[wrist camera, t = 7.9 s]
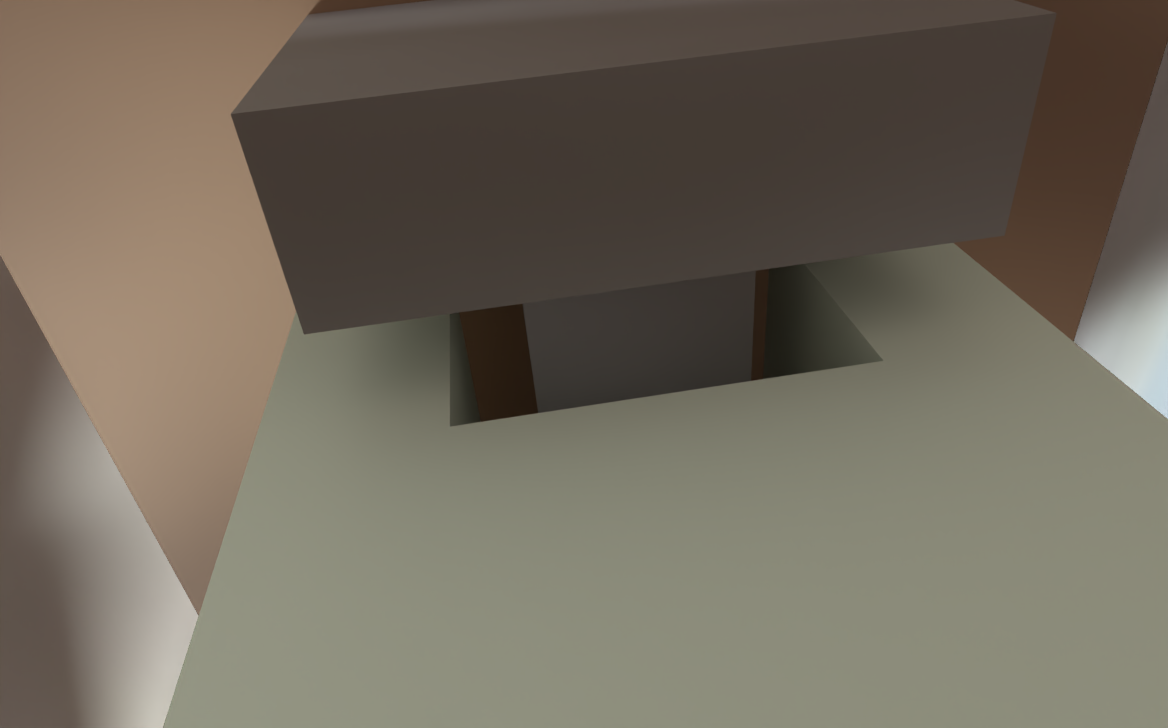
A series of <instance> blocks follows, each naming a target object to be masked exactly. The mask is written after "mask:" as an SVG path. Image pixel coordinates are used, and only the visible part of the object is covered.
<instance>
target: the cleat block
mask: <svg viewBox="0 0 1168 728" xmlns="http://www.w3.org/2000/svg"><path fill="white" fill-rule="evenodd" d="M163 728H1168V419H1167V418H1166V417H1164V416H1163V415H1162V414H1161V413H1160V412H1158V411H1157V410H1156V409H1155V408H1154V407H1152V406H1151V405H1150V404H1149V403H1147V402H1146V401H1145V400H1144V399H1143V398H1141V397H1140V396H1139V395H1138V394H1136V393H1135V392H1134V391H1133V390H1132V389H1130V388H1129V387H1128V386H1127V385H1126V384H1124V383H1123V382H1122V381H1121V380H1119V379H1118V378H1117V377H1116V376H1115V375H1113V374H1112V373H1111V372H1110V371H1109V370H1107V369H1106V368H1105V367H1104V366H1102V365H1101V364H1100V363H1099V362H1098V361H1096V360H1095V359H1094V358H1093V357H1092V356H1090V355H1089V354H1088V353H1087V352H1085V351H1084V350H1083V349H1082V348H1081V347H1079V346H1078V345H1077V344H1076V343H1075V342H1073V341H1072V340H1071V339H1070V338H1068V337H1067V336H1066V335H1065V334H1064V333H1062V332H1061V331H1060V330H1059V329H1057V328H1056V327H1055V326H1054V325H1053V324H1051V323H1050V322H1049V321H1048V320H1047V319H1045V318H1044V317H1043V316H1042V315H1040V314H1039V313H1038V312H1037V311H1036V310H1034V309H1033V308H1032V307H1031V306H1030V305H1028V304H1027V303H1026V302H1025V301H1023V300H1022V299H1021V298H1020V297H1019V296H1017V295H1016V294H1015V293H1014V292H1013V291H1011V290H1010V289H1009V288H1008V287H1006V286H1005V285H1004V284H1003V283H1002V282H1000V281H999V280H998V279H997V278H996V277H994V276H993V275H992V274H991V273H989V272H988V271H987V270H986V269H985V268H983V267H982V266H981V265H980V264H978V263H977V262H976V261H975V260H974V259H972V258H971V257H970V256H969V255H968V254H966V253H965V252H964V251H963V250H961V249H960V248H959V247H958V246H957V245H955V244H954V243H948V244H941V245H934V246H927V247H920V248H913V249H906V250H899V251H892V252H885V253H878V254H871V255H863V256H856V257H849V258H842V259H835V260H828V261H821V262H814V263H807V264H800V265H793V266H786V267H778V268H771V269H769V276H768V295H767V313H766V332H765V351H764V370H763V379H760V380H754V381H747V382H741V383H734V384H727V385H721V386H714V387H708V388H701V389H694V390H688V391H681V392H675V393H668V394H661V395H655V396H648V397H642V398H635V399H629V400H622V401H615V402H609V403H602V404H596V405H589V406H582V407H576V408H569V409H563V410H556V411H549V412H543V413H536V414H530V415H523V416H516V417H510V418H503V419H497V420H490V421H484V422H481V420H480V415H479V410H478V405H477V400H476V395H475V390H474V385H473V380H472V375H471V370H470V365H469V360H468V355H467V350H466V345H465V340H464V335H463V330H462V325H461V320H460V315H459V313H453V314H446V315H439V316H432V317H425V318H417V319H410V320H403V321H396V322H389V323H382V324H375V325H368V326H361V327H354V328H347V329H340V330H332V331H325V332H318V333H311V334H304V333H303V330H302V327H301V324H300V321H299V318H298V315H297V312H296V313H295V316H294V319H293V323H292V326H291V329H290V332H289V335H288V338H287V341H286V344H285V348H284V351H283V354H282V357H281V360H280V363H279V366H278V369H277V373H276V376H275V379H274V382H273V385H272V388H271V391H270V395H269V398H268V401H267V404H266V407H265V410H264V413H263V416H262V420H261V423H260V426H259V429H258V432H257V435H256V438H255V441H254V445H253V448H252V451H251V454H250V457H249V460H248V463H247V466H246V470H245V473H244V476H243V479H242V482H241V485H240V488H239V492H238V495H237V498H236V501H235V504H234V507H233V510H232V513H231V517H230V520H229V523H228V526H227V529H226V532H225V535H224V538H223V542H222V545H221V548H220V551H219V554H218V557H217V560H216V563H215V567H214V570H213V573H212V576H211V579H210V582H209V585H208V589H207V592H206V595H205V598H204V601H203V604H202V607H201V610H200V614H199V617H198V620H197V623H196V626H195V629H194V632H193V635H192V639H191V642H190V645H189V648H188V651H187V654H186V657H185V660H184V664H183V667H182V670H181V673H180V676H179V679H178V682H177V685H176V689H175V692H174V695H173V698H172V701H171V704H170V707H169V711H168V714H167V717H166V720H165V723H164V726H163Z"/></svg>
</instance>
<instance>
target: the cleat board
mask: <svg viewBox="0 0 1168 728" xmlns="http://www.w3.org/2000/svg"><path fill="white" fill-rule="evenodd" d="M1167 41H1168V0H0V256H1V258H2V259H3V261H4V263H5V265H6V267H7V269H8V270H9V272H10V274H11V276H12V278H13V279H14V281H15V283H16V285H17V287H18V288H19V290H20V292H21V294H22V296H23V298H24V299H25V301H26V303H27V305H28V307H29V308H30V310H31V312H32V314H33V316H34V318H35V319H36V321H37V323H38V325H39V327H40V328H41V330H42V332H43V334H44V336H45V338H46V339H47V341H48V343H49V345H50V347H51V348H52V350H53V352H54V354H55V356H56V357H57V359H58V361H59V363H60V365H61V367H62V368H63V370H64V372H65V374H66V376H67V377H68V379H69V381H70V383H71V385H72V387H73V388H74V390H75V392H76V394H77V396H78V397H79V399H80V401H81V403H82V405H83V407H84V408H85V410H86V412H87V414H88V416H89V417H90V419H91V421H92V423H93V425H94V426H95V428H96V430H97V432H98V434H99V436H100V437H101V439H102V441H103V443H104V445H105V446H106V448H107V450H108V452H109V454H110V456H111V457H112V459H113V461H114V463H115V465H116V466H117V468H118V470H119V472H120V474H121V476H122V477H123V479H124V481H125V483H126V485H127V486H128V488H129V490H130V492H131V494H132V495H133V497H134V499H135V501H136V503H137V505H138V506H139V508H140V510H141V512H142V514H143V515H144V517H145V519H146V521H147V523H148V525H149V526H150V528H151V530H152V532H153V534H154V535H155V537H156V539H157V541H158V543H159V545H160V546H161V548H162V550H163V552H164V554H165V555H166V557H167V559H168V561H169V563H170V564H171V566H172V568H173V570H174V572H175V574H176V575H177V577H178V579H179V581H180V583H181V584H182V586H183V588H184V590H185V592H186V594H187V595H188V597H189V599H190V601H191V603H192V604H193V606H194V608H195V610H196V612H197V614H198V615H199V614H200V610H201V607H202V604H203V601H204V598H205V595H206V592H207V589H208V585H209V582H210V579H211V576H212V573H213V570H214V567H215V563H216V560H217V557H218V554H219V551H220V548H221V545H222V542H223V538H224V535H225V532H226V529H227V526H228V523H229V520H230V517H231V513H232V510H233V507H234V504H235V501H236V498H237V495H238V492H239V488H240V485H241V482H242V479H243V476H244V473H245V470H246V466H247V463H248V460H249V457H250V454H251V451H252V448H253V445H254V441H255V438H256V435H257V432H258V429H259V426H260V423H261V420H262V416H263V413H264V410H265V407H266V404H267V401H268V398H269V395H270V391H271V388H272V385H273V382H274V379H275V376H276V373H277V369H278V366H279V363H280V360H281V357H282V354H283V351H284V348H285V344H286V341H287V338H288V335H289V332H290V329H291V326H292V323H293V319H294V316H295V313H296V312H297V315H298V318H299V321H300V324H301V327H302V330H303V333H304V334H311V333H318V332H325V331H332V330H340V329H347V328H354V327H361V326H368V325H375V324H382V323H389V322H396V321H403V320H410V319H417V318H425V317H432V316H439V315H446V314H453V313H459V315H460V320H461V325H462V330H463V335H464V340H465V345H466V350H467V355H468V360H469V365H470V370H471V375H472V380H473V385H474V390H475V395H476V400H477V405H478V410H479V415H480V420H481V422H484V421H490V420H497V419H503V418H510V417H516V416H523V415H530V414H536V413H543V412H549V411H556V410H563V409H569V408H576V407H582V406H589V405H596V404H602V403H609V402H615V401H622V400H629V399H635V398H642V397H648V396H655V395H661V394H668V393H675V392H681V391H688V390H694V389H701V388H708V387H714V386H721V385H727V384H734V383H741V382H747V381H754V380H760V379H763V370H764V351H765V332H766V313H767V295H768V276H769V269H771V268H778V267H786V266H793V265H800V264H807V263H814V262H821V261H828V260H835V259H842V258H849V257H856V256H863V255H871V254H878V253H885V252H892V251H899V250H906V249H913V248H920V247H927V246H934V245H941V244H948V243H954V244H955V245H957V246H958V247H959V248H960V249H961V250H963V251H964V252H965V253H966V254H968V255H969V256H970V257H971V258H972V259H974V260H975V261H976V262H977V263H978V264H980V265H981V266H982V267H983V268H985V269H986V270H987V271H988V272H989V273H991V274H992V275H993V276H994V277H996V278H997V279H998V280H999V281H1000V282H1002V283H1003V284H1004V285H1005V286H1006V287H1008V288H1009V289H1010V290H1011V291H1013V292H1014V293H1015V294H1016V295H1017V296H1019V297H1020V298H1021V299H1022V300H1023V301H1025V302H1026V303H1027V304H1028V305H1030V306H1031V307H1032V308H1033V309H1034V310H1036V311H1037V312H1038V313H1039V314H1040V315H1042V316H1043V317H1044V318H1045V319H1047V320H1048V321H1049V322H1050V323H1051V324H1053V325H1054V326H1055V327H1056V328H1057V329H1059V330H1060V331H1061V332H1062V333H1064V334H1065V335H1066V336H1067V337H1068V338H1070V339H1071V340H1072V341H1074V338H1075V335H1076V332H1077V328H1078V325H1079V322H1080V319H1081V316H1082V313H1083V309H1084V306H1085V303H1086V300H1087V297H1088V293H1089V290H1090V287H1091V284H1092V281H1093V277H1094V274H1095V271H1096V268H1097V265H1098V261H1099V258H1100V255H1101V252H1102V249H1103V246H1104V242H1105V239H1106V236H1107V233H1108V230H1109V226H1110V223H1111V220H1112V217H1113V214H1114V210H1115V207H1116V204H1117V201H1118V198H1119V194H1120V191H1121V188H1122V185H1123V182H1124V178H1125V175H1126V172H1127V169H1128V166H1129V163H1130V159H1131V156H1132V153H1133V150H1134V147H1135V143H1136V140H1137V137H1138V134H1139V131H1140V127H1141V124H1142V121H1143V118H1144V115H1145V111H1146V108H1147V105H1148V102H1149V99H1150V96H1151V92H1152V89H1153V86H1154V83H1155V80H1156V76H1157V73H1158V70H1159V67H1160V64H1161V60H1162V57H1163V54H1164V51H1165V48H1166V44H1167Z"/></svg>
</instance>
